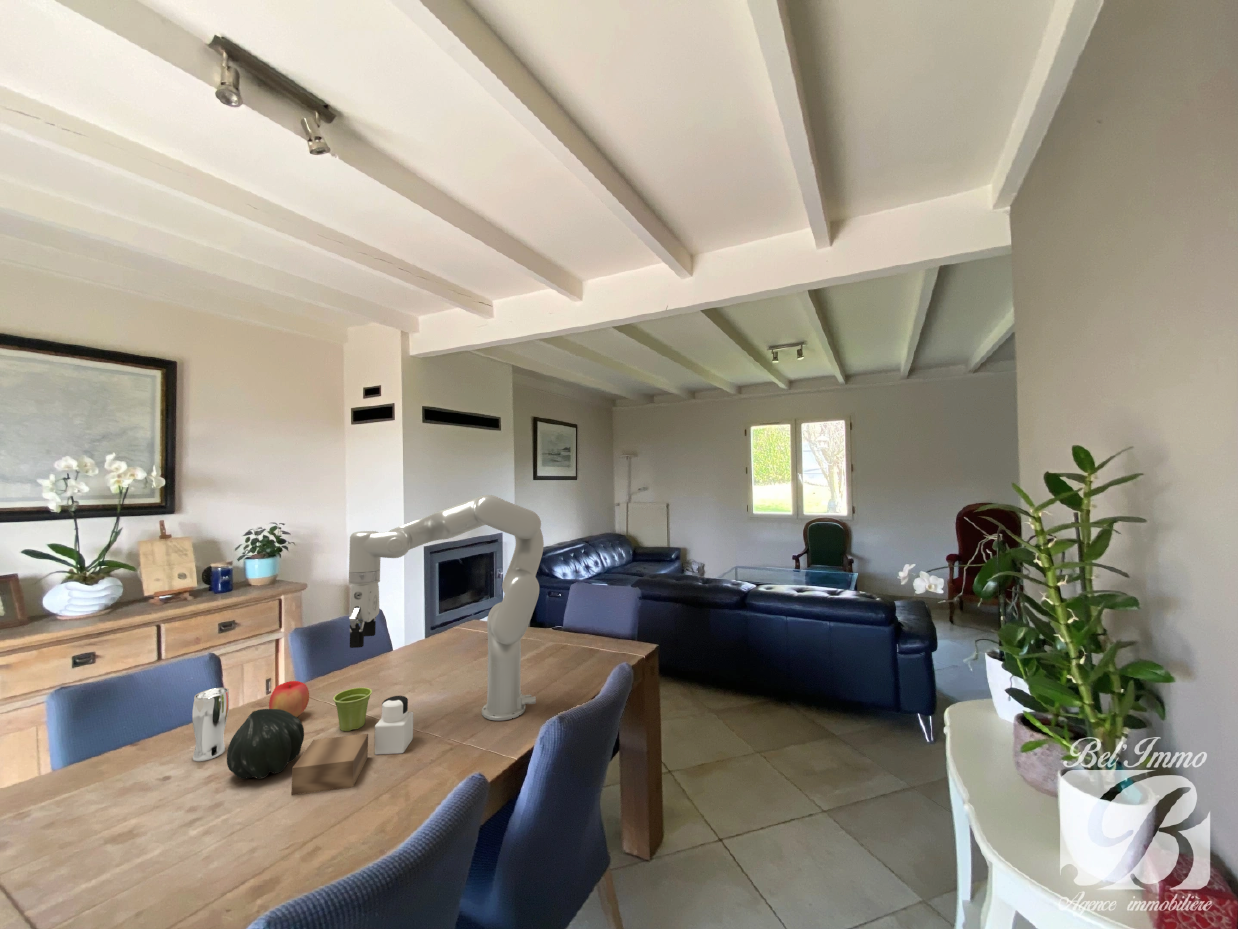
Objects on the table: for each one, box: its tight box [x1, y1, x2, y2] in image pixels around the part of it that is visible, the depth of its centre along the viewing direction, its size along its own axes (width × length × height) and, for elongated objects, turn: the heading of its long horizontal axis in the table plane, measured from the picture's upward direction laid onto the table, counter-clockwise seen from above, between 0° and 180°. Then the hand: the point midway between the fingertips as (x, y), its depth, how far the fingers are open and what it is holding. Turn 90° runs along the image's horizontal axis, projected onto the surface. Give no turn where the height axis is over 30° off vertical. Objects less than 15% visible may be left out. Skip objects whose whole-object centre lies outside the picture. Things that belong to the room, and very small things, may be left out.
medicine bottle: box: [373, 695, 414, 755], centre depth 123 cm, size 7×7×12 cm
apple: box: [268, 680, 310, 718], centre depth 137 cm, size 10×10×10 cm
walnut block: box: [290, 733, 369, 796], centre depth 110 cm, size 12×12×6 cm
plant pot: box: [332, 687, 373, 732], centre depth 133 cm, size 9×9×9 cm
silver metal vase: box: [191, 687, 230, 762], centre depth 119 cm, size 7×7×15 cm
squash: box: [226, 708, 305, 780], centre depth 113 cm, size 14×15×15 cm
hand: (363, 641), depth 129 cm, fingers open, 9 cm apart
